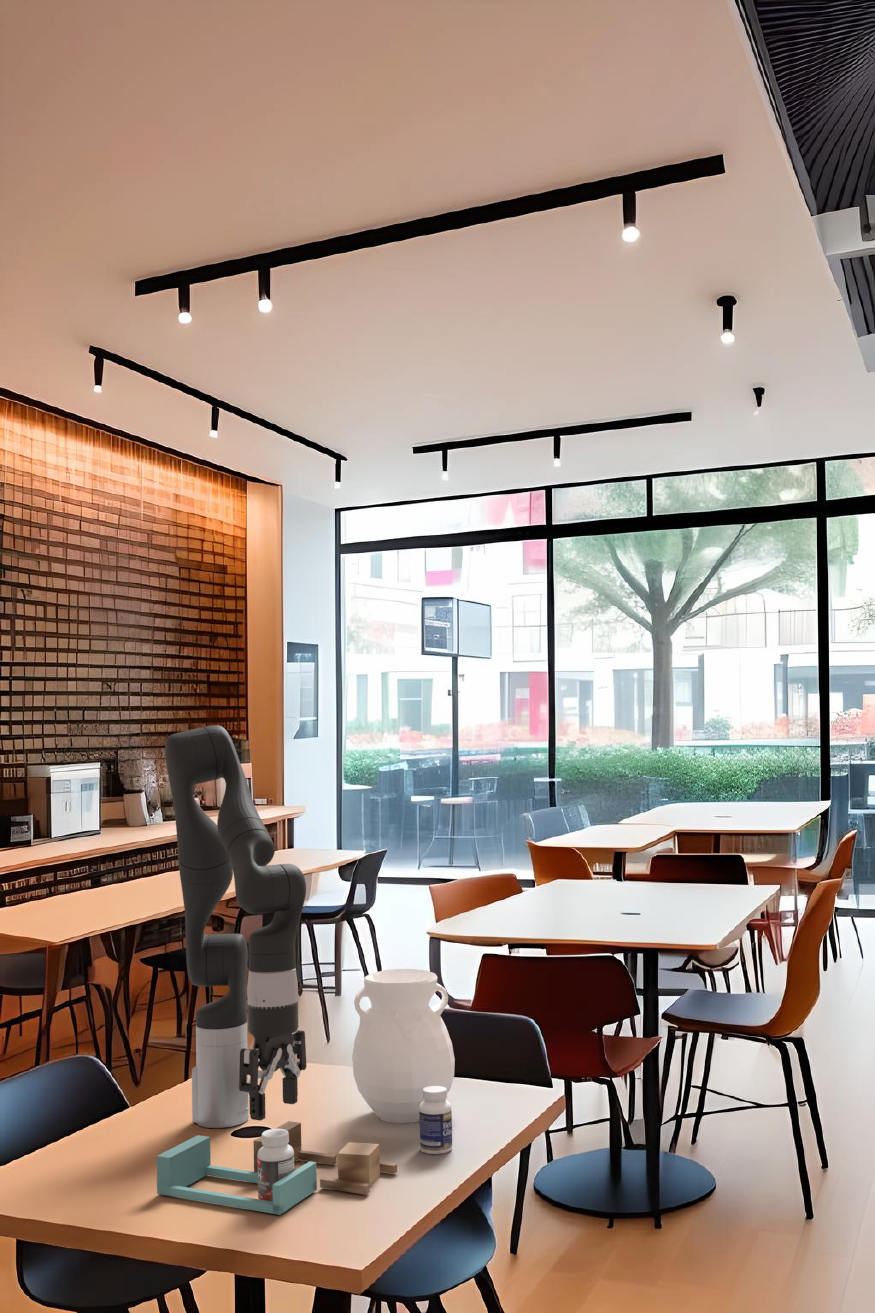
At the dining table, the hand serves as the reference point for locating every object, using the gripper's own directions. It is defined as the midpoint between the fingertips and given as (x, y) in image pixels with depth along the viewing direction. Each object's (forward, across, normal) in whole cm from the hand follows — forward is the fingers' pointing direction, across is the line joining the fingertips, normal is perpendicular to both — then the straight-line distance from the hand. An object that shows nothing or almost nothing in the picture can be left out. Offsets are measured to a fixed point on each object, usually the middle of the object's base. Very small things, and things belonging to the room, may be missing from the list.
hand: (274, 1111), depth 169 cm
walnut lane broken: (+12, +11, -2) cm, 17 cm away
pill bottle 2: (+13, +28, -13) cm, 34 cm away
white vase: (+13, +42, 0) cm, 44 cm away
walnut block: (+13, +11, -8) cm, 19 cm away
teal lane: (+13, 0, +7) cm, 15 cm away
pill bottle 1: (+13, 0, 0) cm, 13 cm away
